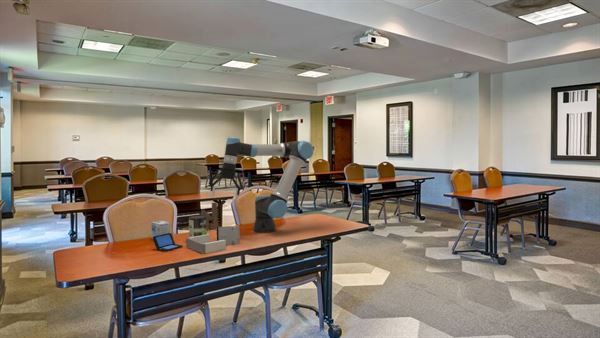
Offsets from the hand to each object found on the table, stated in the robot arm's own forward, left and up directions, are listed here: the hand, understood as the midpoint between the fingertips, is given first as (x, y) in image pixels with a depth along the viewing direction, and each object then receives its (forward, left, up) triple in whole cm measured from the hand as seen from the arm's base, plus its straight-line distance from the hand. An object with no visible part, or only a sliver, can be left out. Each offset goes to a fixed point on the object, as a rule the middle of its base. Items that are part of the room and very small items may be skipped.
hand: (224, 199), depth 227 cm
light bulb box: (+26, -31, -25) cm, 48 cm away
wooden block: (-10, -37, -25) cm, 46 cm away
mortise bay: (+16, +7, -25) cm, 30 cm away
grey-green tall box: (+10, -14, -25) cm, 31 cm away
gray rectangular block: (+1, +7, -25) cm, 26 cm away
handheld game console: (+31, -8, -26) cm, 41 cm away
